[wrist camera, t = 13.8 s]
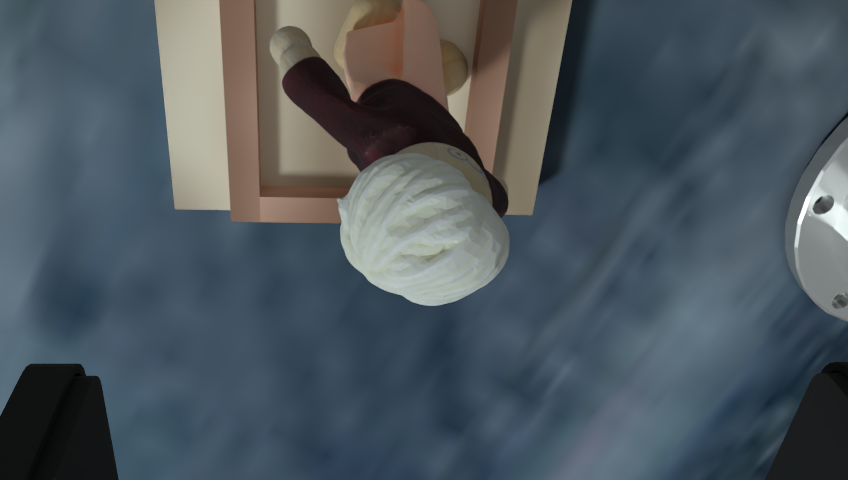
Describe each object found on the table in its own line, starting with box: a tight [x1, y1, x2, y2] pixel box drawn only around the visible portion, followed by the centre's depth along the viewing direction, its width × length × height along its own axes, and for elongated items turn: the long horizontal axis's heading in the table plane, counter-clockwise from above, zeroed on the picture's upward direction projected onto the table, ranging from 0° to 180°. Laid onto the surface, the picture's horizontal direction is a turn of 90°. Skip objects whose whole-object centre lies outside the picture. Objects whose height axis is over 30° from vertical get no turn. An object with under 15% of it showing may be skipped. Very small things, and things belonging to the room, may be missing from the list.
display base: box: [155, 0, 572, 223], centre depth 25 cm, size 13×13×2 cm
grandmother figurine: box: [270, 0, 509, 306], centre depth 19 cm, size 8×4×13 cm, turn 61°
